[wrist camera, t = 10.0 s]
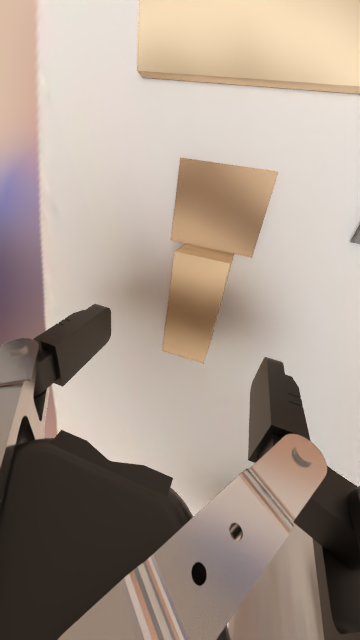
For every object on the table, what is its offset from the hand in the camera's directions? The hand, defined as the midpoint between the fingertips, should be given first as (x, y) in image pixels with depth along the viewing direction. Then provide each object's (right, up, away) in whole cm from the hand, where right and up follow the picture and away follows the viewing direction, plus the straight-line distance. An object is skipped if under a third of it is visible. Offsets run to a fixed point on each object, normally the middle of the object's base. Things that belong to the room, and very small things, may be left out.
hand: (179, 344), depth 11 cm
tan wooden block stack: (+2, +5, +6) cm, 8 cm away
